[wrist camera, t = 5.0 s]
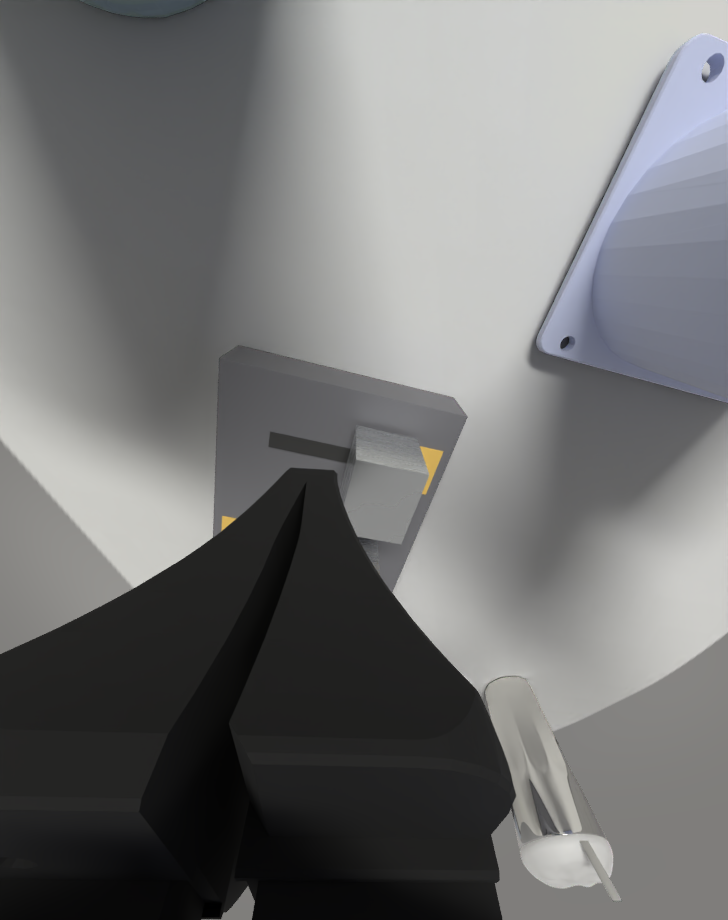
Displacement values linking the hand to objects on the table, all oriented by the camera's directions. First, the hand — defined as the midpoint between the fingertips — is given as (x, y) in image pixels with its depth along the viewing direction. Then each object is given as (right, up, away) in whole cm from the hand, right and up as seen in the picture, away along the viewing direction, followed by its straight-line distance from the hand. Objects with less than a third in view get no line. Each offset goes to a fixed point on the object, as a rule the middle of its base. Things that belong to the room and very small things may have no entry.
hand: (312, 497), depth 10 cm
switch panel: (-1, -2, +7) cm, 7 cm away
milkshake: (+12, -15, +15) cm, 24 cm away
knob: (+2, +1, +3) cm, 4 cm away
